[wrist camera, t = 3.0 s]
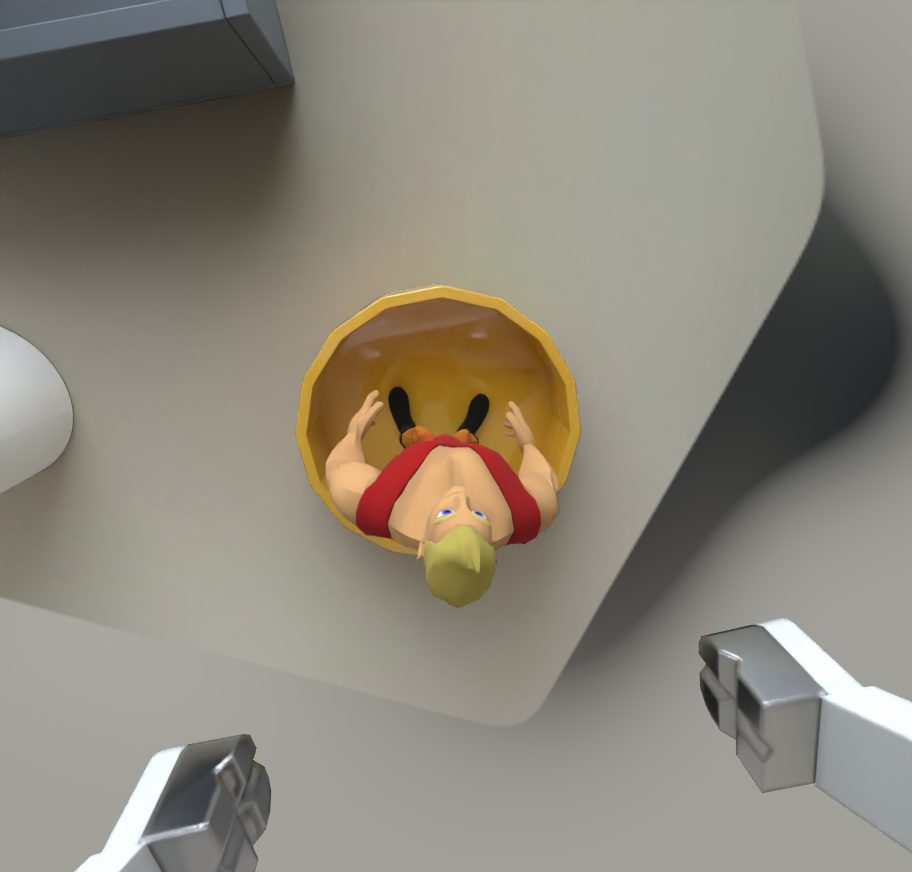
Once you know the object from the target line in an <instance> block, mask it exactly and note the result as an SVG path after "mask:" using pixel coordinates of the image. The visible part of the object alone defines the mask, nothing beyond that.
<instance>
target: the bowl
mask: <svg viewBox="0 0 912 872" xmlns="http://www.w3.org/2000/svg"><path fill="white" fill-rule="evenodd" d="M394 387H402V388H403V389H404V390H405V392H406V393H407V395H408V398H409V405H410V413H411V417H412V420H413V421H414V423H415V425H416V426H422V427H424V428H426V429H428V430H429V431H431V432H432V433H434V434H435V435H442V434H448V435H451V436H454V435H455V434H456V433H457V430H458V428H459V427H460V426H461V425H462V424H463V422H464V420H465V418H466V416H467V413H468V409H469V405H470V402H471V400H472V399H473V398H474V397H475V396H476V395H478V394H479V393H480V394H485V395H486V396H487V397H488V400H489V410H488V413H487V415H486V417H485V419H484V421H483V423H482V424H481V426H480V427H479V429H478V430H477V432H476V433H475V436H476V437H477V438H478V439H479V445H483V446H485V447H487V448H489V449H491V450H494V451H496V452H498V453H499V454H500V455H501V456H502V457H503V458H504V460H505V461H506V462H507V463H508V464H509V466H510V467H511V469H512V470H513V471H514V472H515V473H516V475H517V476H518V473H519V469H520V465H521V461H522V455H523V454H522V453H521V451H520V450H519V447H518V442H517V438H515V437H509V436H506V435H505V434H504V433H505V432H507V431H508V432H514V429H510V428H507V427H505V426H504V424H505V423H507V422H508V421H507V420H506V418H505V414H506V413H507V412H512V410H511V409H510V408H509V406H508V404H509V402H511V401H512V402H514V403H515V404H516V405H517V406H518V407H519V409H520V412H521V414H522V416H523V419H524V421H525V423H526V424H527V426H528V427H529V429H530V431H531V432H532V434H533V437H534V442H535V447H536V448H537V449H538V450H539V451H540V453H541V454H542V455H543V457H544V458H545V459H546V460H547V462H548V463H549V464H550V466H551V467H552V469H553V471H554V473H555V474H556V476H557V481H558V491H559V490H560V489H561V488H562V486H563V485H564V484H565V482H566V480H567V477H568V473H569V470H570V467H571V464H572V460H573V457H574V454H575V450H576V447H577V444H578V440H579V437H580V432H581V430H580V420H579V411H578V401H577V392H576V382H575V379H574V377H573V376H572V374H571V372H570V370H569V369H568V367H567V365H566V363H565V362H564V360H563V358H562V356H561V355H560V353H559V351H558V349H557V348H556V346H555V344H554V342H553V341H552V339H551V337H550V335H549V334H548V333H547V332H546V331H545V330H544V329H542V328H541V327H539V326H538V325H537V324H535V323H534V322H533V321H531V320H530V319H528V318H527V317H526V316H524V315H523V314H522V313H520V312H519V311H518V310H516V309H515V308H513V307H512V306H511V305H509V304H508V303H507V302H505V301H504V300H502V299H500V298H498V297H496V296H493V295H491V294H488V293H483V292H479V291H474V290H470V289H466V288H461V287H456V286H451V285H447V284H442V283H434V284H429V285H424V286H418V287H411V288H408V289H403V290H398V291H393V292H388V293H385V294H384V295H382V296H381V297H379V298H378V299H376V300H375V301H374V302H372V303H371V304H369V305H368V306H366V307H365V308H363V309H362V310H360V311H359V312H358V313H356V314H355V315H353V316H352V317H350V318H349V319H347V320H346V321H344V322H343V323H342V324H341V325H340V326H338V327H337V328H336V329H335V330H334V331H333V332H332V333H331V335H330V336H329V338H328V339H327V341H326V343H325V344H324V346H323V348H322V349H321V351H320V353H319V354H318V356H317V357H316V359H315V361H314V362H313V364H312V366H311V367H310V369H309V371H308V372H307V374H306V375H305V377H304V379H303V382H302V386H301V394H300V402H299V411H298V419H297V427H296V440H297V443H298V446H299V449H300V453H301V456H302V459H303V462H304V466H305V469H306V472H307V476H308V479H309V482H310V485H311V487H312V489H313V490H314V491H315V492H316V493H317V495H318V496H319V497H320V498H321V499H322V501H323V502H324V503H325V504H326V505H327V507H328V508H329V509H330V510H331V511H332V513H333V514H334V515H335V516H336V517H337V518H338V520H339V521H340V522H341V523H342V524H343V526H345V527H346V528H347V529H349V530H351V531H353V532H355V533H357V534H358V535H360V536H362V537H364V538H366V539H368V540H370V541H371V542H373V543H375V544H377V545H379V546H381V547H382V548H384V549H386V550H388V551H391V552H398V553H405V554H412V555H418V550H416V549H412V548H408V547H405V546H403V545H401V544H400V543H398V542H396V541H394V540H392V539H389V538H382V537H377V536H367V535H365V534H364V533H363V532H362V531H361V530H360V529H359V528H358V527H357V526H356V525H354V524H353V523H351V522H350V521H348V520H346V519H345V518H344V516H343V515H342V514H341V513H340V512H339V511H338V510H337V508H336V506H335V505H334V503H333V501H332V499H331V497H330V490H329V487H328V485H327V482H326V474H325V472H326V461H327V459H328V457H329V456H330V454H331V452H332V450H333V449H334V448H335V447H336V446H337V444H338V443H339V442H340V441H341V440H342V439H343V438H344V437H345V436H346V435H347V431H348V426H349V424H350V422H351V420H352V418H353V417H354V416H355V415H356V414H357V413H358V412H359V411H360V409H361V408H362V407H363V404H364V402H365V401H366V399H367V396H368V395H369V394H371V393H372V392H373V391H375V390H377V391H378V392H379V395H378V397H377V398H376V399H375V400H374V401H377V402H382V403H383V404H384V407H383V409H382V410H381V411H380V412H379V413H377V414H378V416H377V417H375V418H374V419H373V421H374V422H375V423H376V424H375V425H374V426H370V427H369V429H368V431H367V433H366V435H365V437H364V438H363V439H362V440H361V448H362V451H363V455H364V460H365V464H367V465H370V466H373V467H375V468H377V469H379V470H380V471H382V470H383V468H384V467H385V466H386V465H387V464H388V463H389V462H390V461H391V460H392V459H393V458H394V456H397V455H399V454H400V453H401V452H402V451H403V450H404V448H403V447H402V445H401V443H400V441H399V438H400V434H401V433H400V432H399V430H398V428H397V425H396V423H395V421H394V419H393V416H392V414H391V411H390V408H389V403H388V397H389V393H390V391H391V390H392V389H393V388H394ZM512 413H513V412H512ZM508 423H509V422H508ZM558 491H557V493H558Z"/></svg>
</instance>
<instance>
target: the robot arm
mask: <svg viewBox="0 0 912 872" xmlns="http://www.w3.org/2000/svg"><path fill="white" fill-rule="evenodd" d="M699 655H700V656H701V657H702V659H703V660H704V661H705V663H706V665H705V667H704V668H703V669H702V671H701V672H700V686H701V691H702V694H703V698H704V701H705V704H706V706H707V709H708V711H709V713H710V714H711V717H712V718H713V720H714V722H715V723H716V725H717V726H718V728H719V729H720V731H722V732H723V733H725V734H727V735H729V736H730V737H732V738H734V739H735V740H736V755H737V756H738V758H739V759H740V760H741V762H742V764H743V765H744V767H745V768H746V770H747V771H748V773H749V774H750V775H751V777H752V779H753V780H754V782H755V783H756V785H757V786H758V787H759V789H760V790H761V792H762V793H765V792H770V791H775V790H781V789H786V788H791V787H797V786H802V785H807V784H812V783H815V786H816V787H817V788H818V789H820V790H821V791H823V792H824V793H826V794H827V795H829V796H830V797H831V798H833V799H834V800H836V801H837V802H839V803H840V804H842V805H843V806H844V807H846V808H847V809H849V810H850V811H852V812H853V813H854V814H856V815H857V816H859V817H860V818H862V819H863V820H864V821H866V822H867V823H869V824H870V825H872V826H873V827H875V828H876V829H877V830H879V831H880V832H882V833H883V834H885V835H886V836H888V837H889V838H891V839H892V840H893V841H895V842H896V843H898V844H899V845H900V846H902V847H903V848H905V849H907V850H908V851H909V852H911V853H912V702H910V701H908V700H905V699H903V698H900V697H898V696H896V695H893V694H891V693H889V692H886V691H884V690H881V689H879V688H877V687H874V686H870V687H862V685H860V684H859V683H858V682H857V681H856V680H855V679H854V678H853V677H852V676H851V675H849V674H848V673H847V672H846V671H845V670H844V669H843V668H842V667H841V666H840V665H839V664H837V662H835V661H834V660H833V659H832V658H831V657H830V656H829V655H828V654H827V653H826V652H825V651H824V650H822V649H821V648H820V647H819V646H818V645H817V644H816V643H815V642H814V641H813V640H811V638H809V637H808V636H807V635H806V634H805V633H804V632H803V631H802V630H801V629H800V628H799V627H797V626H796V625H795V624H794V623H793V622H792V621H790V620H788V619H786V618H781V619H777V620H772V621H767V622H763V623H759V624H756V625H749V626H745V627H740V628H736V629H732V630H727V631H723V632H718V633H714V634H710V635H705V636H701V639H700V641H699ZM255 752H256V746H255V744H254V742H253V740H252V738H251V736H250V735H245V734H242V735H237V736H231V737H226V738H221V739H215V740H210V741H205V742H199V743H194V744H189V745H187V746H181V747H176V748H170V749H164V750H160V751H159V752H158V753H157V754H155V755H154V756H153V757H152V758H151V760H150V761H149V763H148V765H147V767H146V769H145V771H144V773H143V775H142V777H141V778H140V780H139V782H138V784H137V786H136V788H135V790H134V792H133V794H132V795H131V798H130V799H129V801H128V803H127V805H126V807H125V809H124V811H123V812H122V814H121V816H120V818H119V820H118V822H117V824H116V826H115V828H114V830H113V831H112V833H111V835H110V837H109V839H108V841H107V843H106V845H105V846H104V848H103V850H102V852H101V853H98V854H94V855H91V856H90V857H89V858H88V859H87V860H86V861H85V862H84V863H83V864H82V865H81V866H80V867H79V868H78V869H77V870H76V871H75V872H255V869H256V865H257V862H258V857H257V855H256V853H255V851H254V848H253V845H254V844H255V842H256V841H257V840H258V839H259V837H260V836H261V835H262V833H263V832H264V831H265V830H266V826H267V822H268V818H269V813H270V802H271V788H270V782H269V777H268V774H267V772H266V769H265V767H264V766H262V765H261V764H259V763H257V762H255V761H254V760H253V758H254V755H255Z"/></svg>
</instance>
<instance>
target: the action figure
mask: <svg viewBox="0 0 912 872" xmlns="http://www.w3.org/2000/svg"><path fill="white" fill-rule="evenodd" d="M378 395H379V392H378V391H377V390H375V391H373V392H372V393H371V394H369V395H368V396H367V399H366V401H365V402H364V404H363V407H362V408H361V409H360V411H359V412H358V413H357V414H356V415H355V416H354V417H353V418H352V420H351V422H350V424H349V426H348V431H347V435H346V436H345V437H344V438H343V439H342V440H341V441H340V442H339V443H338V444H337V446H336V447H335V448H334V449H333V450H332V452H331V454H330V456H329V457H328V459H327V461H326V472H325V474H326V482H327V485H328V487H329V490H330V497H331V499H332V501H333V503H334V505H335V506H336V508H337V510H338V511H339V512H340V513H341V514H342V515H343V516H344V518H345V519H346V520H348V521H350V522H351V523H353V524H354V525H356V526H357V527H358V528H359V529H360V530H361V531H362V532H363V533H364V534H365V535H367V536H377V537H382V538H389V539H392V540H394V541H396V542H398V543H400V544H401V545H403V546H405V547H408V548H412V549H416V550H418V556H417V560H422V561H424V564H425V568H426V584H427V586H428V588H429V589H430V591H431V593H432V594H433V595H434V596H435V597H437V598H440V599H442V600H444V601H446V602H447V603H448V604H450V605H452V606H455V607H457V608H459V607H462V606H464V605H466V604H469V603H471V602H473V601H476V600H478V599H480V597H481V596H482V595H483V594H484V592H485V591H486V590H487V589H488V587H489V586H490V584H491V581H492V578H493V574H494V571H495V564H497V561H496V558H495V550H497V549H499V548H501V547H503V546H505V545H509V544H518V543H522V544H525V543H527V542H529V541H531V540H532V539H534V538H536V537H537V535H538V533H540V532H542V531H545V530H546V529H547V528H548V526H549V525H550V524H551V522H552V521H553V519H554V518H555V516H556V515H557V514H558V500H557V496H556V494H557V491H558V481H557V476H556V474H555V473H554V471H553V469H552V467H551V466H550V464H549V463H548V462H547V460H546V459H545V458H544V457H543V455H542V454H541V453H540V451H539V450H538V449H537V448H536V447H535V442H534V437H533V434H532V432H531V431H530V429H529V427H528V426H527V424H526V423H525V421H524V419H523V416H522V414H521V412H520V409H519V407H518V406H517V405H516V404H515V403H514V402H512V401H511V402H509V404H508V406H509V408H510V409H511V410H512V412H513V413H512V412H507V413H506V414H505V418H506V420H507V421H508V422H509V423H508V422H507V423H505V424H504V426H505V427H507V428H510V429H514V432H508V431H507V432H505V433H504V434H505V435H506V436H509V437H515V438H517V442H518V447H519V450H520V451H521V453H522V454H523V455H522V461H521V465H520V469H519V473H518V476H517V475H516V473H515V472H514V471H513V470H512V469H511V467H510V466H509V464H508V463H507V462H506V461H505V460H504V458H503V457H502V456H501V455H500V454H499V453H498V452H496V451H494V450H491V449H489V448H487V447H485V446H483V445H479V439H478V438H477V437H476V436H475V433H476V432H477V430H478V429H479V427H480V426H481V424H482V423H483V421H484V419H485V417H486V415H487V413H488V410H489V400H488V397H487V396H486V395H485V394H480V393H479V394H478V395H476V396H475V397H474V398H473V399H472V400H471V402H470V405H469V409H468V413H467V416H466V418H465V420H464V422H463V424H462V425H461V426H460V427H459V428H458V430H457V433H456V434H455V435H454V436H451V435H448V434H442V435H435V434H434V433H432V432H431V431H429V430H428V429H426V428H424V427H422V426H416V425H415V423H414V421H413V420H412V417H411V413H410V405H409V398H408V395H407V393H406V392H405V390H404V389H403V388H402V387H394V388H393V389H392V390H391V391H390V393H389V397H388V403H389V408H390V411H391V414H392V416H393V419H394V421H395V423H396V425H397V428H398V430H399V432H400V433H401V434H400V438H399V441H400V443H401V445H402V447H403V448H404V450H403V451H402V452H401V453H400V454H399V455H397V456H394V458H393V459H392V460H391V461H390V462H389V463H388V464H387V465H386V466H385V467H384V468H383V470H382V471H380V470H379V469H377V468H375V467H373V466H370V465H367V464H365V460H364V455H363V451H362V448H361V440H362V439H363V438H364V437H365V435H366V433H367V431H368V429H369V427H370V426H374V425H375V424H376V423H375V422H374V421H373V419H374V418H375V417H377V416H378V414H377V413H379V412H380V411H381V410H382V409H383V407H384V404H383V403H382V402H377V401H374V400H375V399H376V398H377V397H378Z"/></svg>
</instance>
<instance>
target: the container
mask: <svg viewBox="0 0 912 872" xmlns="http://www.w3.org/2000/svg"><path fill="white" fill-rule="evenodd" d="M292 84H295V79H294V75H293V71H292V67H291V63H290V59H289V55H288V51H287V47H286V43H285V39H284V35H283V30H282V26H281V22H280V18H279V14H278V10H277V6H276V2H275V0H0V139H3V138H9V137H14V136H19V135H25V134H30V133H35V132H41V131H46V130H52V129H57V128H62V127H68V126H73V125H78V124H84V123H89V122H94V121H100V120H105V119H110V118H116V117H121V116H126V115H132V114H137V113H142V112H148V111H153V110H158V109H164V108H169V107H174V106H180V105H185V104H191V103H196V102H201V101H207V100H212V99H217V98H223V97H228V96H233V95H239V94H244V93H249V92H255V91H260V90H265V89H271V88H276V87H281V86H287V85H292Z"/></svg>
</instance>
